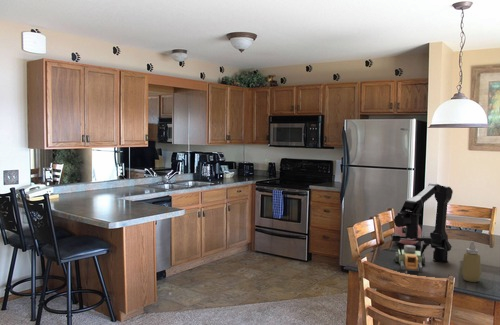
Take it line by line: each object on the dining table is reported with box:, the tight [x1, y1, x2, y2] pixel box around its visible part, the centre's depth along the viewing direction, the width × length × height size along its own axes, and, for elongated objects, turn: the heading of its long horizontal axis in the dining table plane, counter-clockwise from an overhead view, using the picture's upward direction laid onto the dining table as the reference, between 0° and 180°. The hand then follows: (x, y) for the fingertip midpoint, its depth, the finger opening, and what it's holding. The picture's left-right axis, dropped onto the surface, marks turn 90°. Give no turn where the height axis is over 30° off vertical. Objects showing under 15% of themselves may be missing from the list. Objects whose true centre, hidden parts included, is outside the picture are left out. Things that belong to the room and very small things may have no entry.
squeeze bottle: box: [461, 240, 482, 283], centre depth 194 cm, size 8×8×18 cm
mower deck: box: [394, 244, 426, 266], centre depth 222 cm, size 14×9×8 cm, turn 73°
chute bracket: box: [399, 260, 423, 273], centre depth 212 cm, size 10×11×2 cm
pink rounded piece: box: [394, 224, 423, 246], centre depth 256 cm, size 15×20×15 cm
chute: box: [405, 254, 418, 269], centre depth 213 cm, size 6×9×5 cm, turn 163°
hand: (411, 255), depth 212 cm, fingers open, 9 cm apart
